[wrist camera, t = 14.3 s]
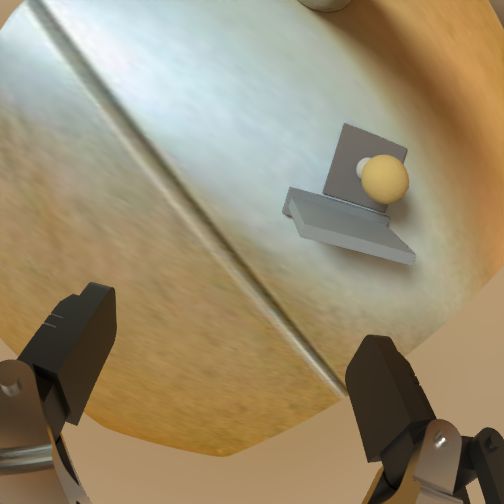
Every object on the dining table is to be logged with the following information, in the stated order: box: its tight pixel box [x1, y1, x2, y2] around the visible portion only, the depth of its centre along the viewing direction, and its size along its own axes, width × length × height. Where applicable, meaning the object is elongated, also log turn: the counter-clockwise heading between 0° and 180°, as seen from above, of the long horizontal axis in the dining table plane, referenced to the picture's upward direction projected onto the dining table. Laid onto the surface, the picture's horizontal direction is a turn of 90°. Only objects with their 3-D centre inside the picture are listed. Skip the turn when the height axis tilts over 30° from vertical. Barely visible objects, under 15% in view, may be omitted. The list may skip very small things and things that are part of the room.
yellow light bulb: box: [356, 155, 409, 204], centre depth 37 cm, size 6×6×10 cm
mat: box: [322, 123, 407, 213], centre depth 42 cm, size 11×11×1 cm
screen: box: [282, 187, 416, 266], centre depth 40 cm, size 4×17×12 cm, turn 76°
